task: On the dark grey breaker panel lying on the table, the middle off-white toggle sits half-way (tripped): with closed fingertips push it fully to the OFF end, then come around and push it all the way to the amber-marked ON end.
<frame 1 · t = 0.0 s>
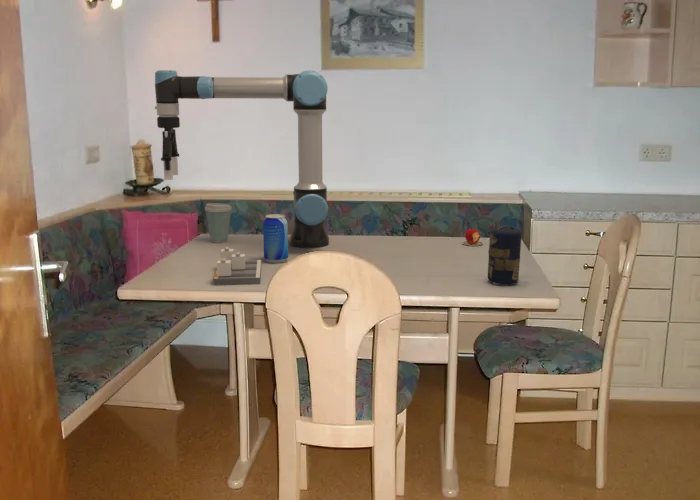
hand: (171, 177, 245), 28 cm above the table, fingers open, 13 cm apart
panel: (238, 275, 223), on the table
canister: (502, 283, 215), on the table
beer can: (276, 261, 242), on the table
apple: (472, 244, 269), on the table
tripped breaker: (238, 260, 222), point 5 cm above the table, slide at 0.0 cm
disposable coffee cup: (219, 241, 274), on the table
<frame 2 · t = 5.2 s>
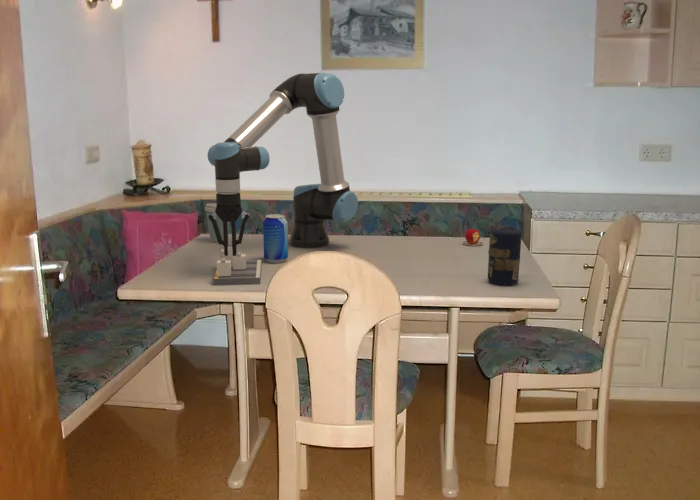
hand: (230, 265, 222), 3 cm above the table, fingers closed
tripped breaker: (239, 260, 222), point 5 cm above the table, slide at -0.3 cm, touching gripper
everything else where it was.
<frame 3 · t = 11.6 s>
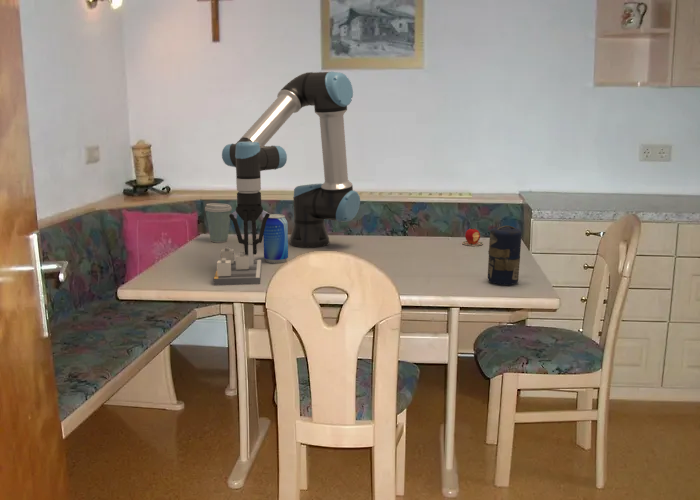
hand: (251, 264, 223), 3 cm above the table, fingers closed
tripped breaker: (242, 260, 222), point 5 cm above the table, slide at -1.2 cm, touching gripper
everything else where it was.
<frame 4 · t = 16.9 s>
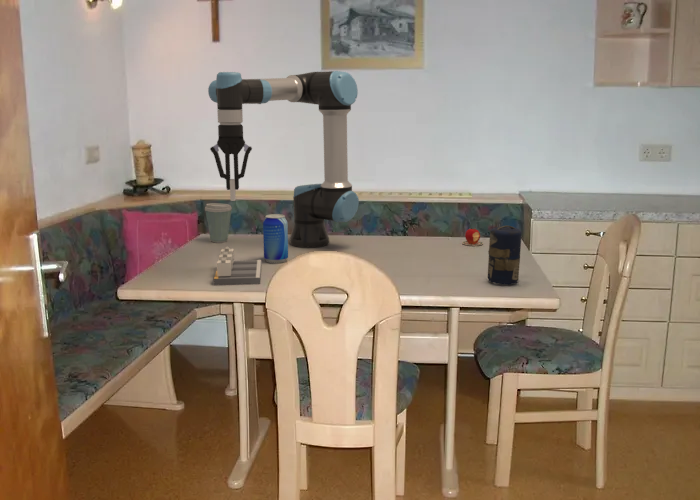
hand: (233, 200, 218), 24 cm above the table, fingers closed
tripped breaker: (225, 260, 222), point 5 cm above the table, slide at 4.0 cm
everything else where it was.
at the end: tripped breaker slide at 4.0 cm; tripped breaker touching nothing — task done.
